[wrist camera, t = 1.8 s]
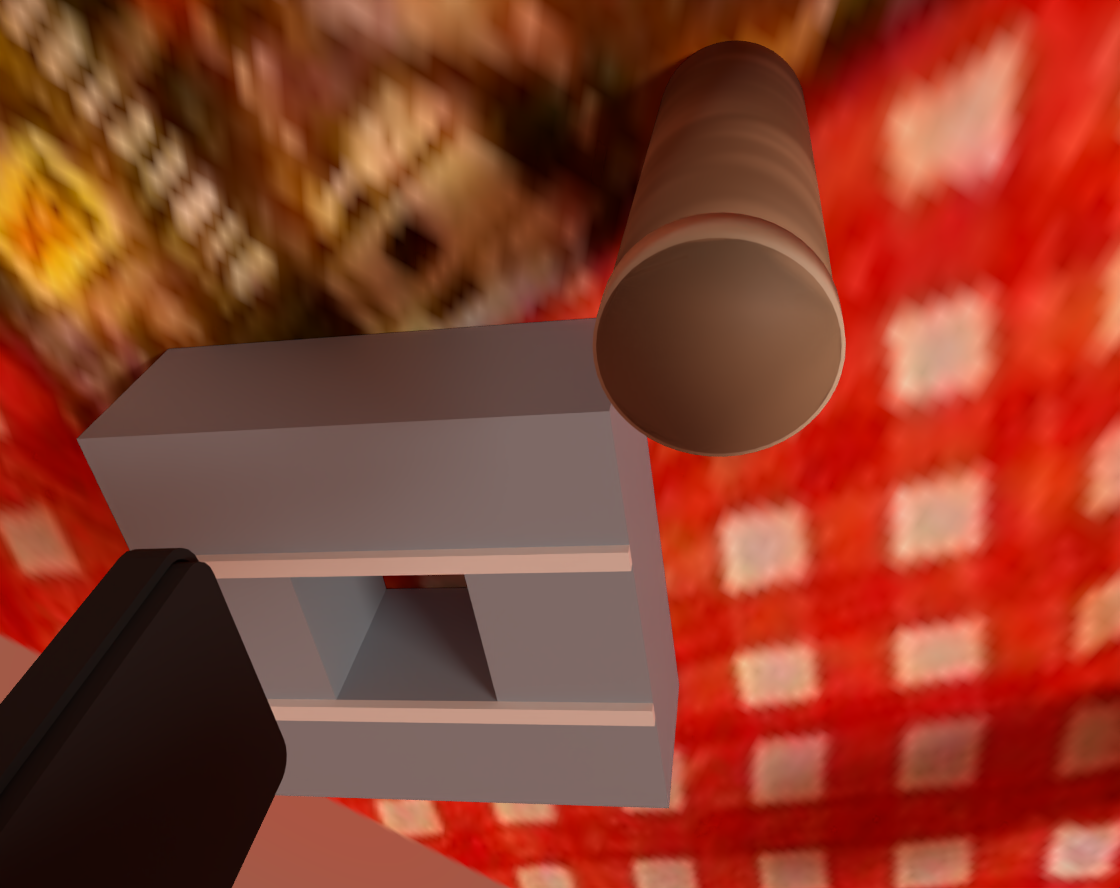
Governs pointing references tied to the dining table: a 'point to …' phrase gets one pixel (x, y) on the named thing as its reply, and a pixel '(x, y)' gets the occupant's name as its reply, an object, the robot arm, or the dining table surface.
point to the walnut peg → (723, 266)
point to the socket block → (419, 555)
